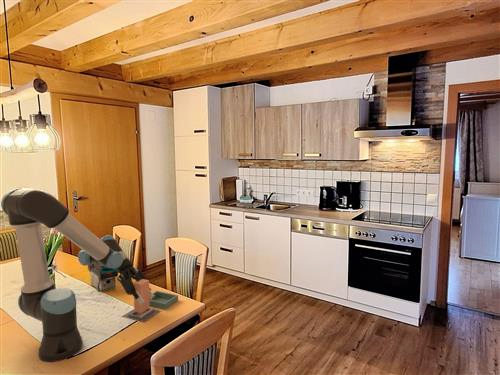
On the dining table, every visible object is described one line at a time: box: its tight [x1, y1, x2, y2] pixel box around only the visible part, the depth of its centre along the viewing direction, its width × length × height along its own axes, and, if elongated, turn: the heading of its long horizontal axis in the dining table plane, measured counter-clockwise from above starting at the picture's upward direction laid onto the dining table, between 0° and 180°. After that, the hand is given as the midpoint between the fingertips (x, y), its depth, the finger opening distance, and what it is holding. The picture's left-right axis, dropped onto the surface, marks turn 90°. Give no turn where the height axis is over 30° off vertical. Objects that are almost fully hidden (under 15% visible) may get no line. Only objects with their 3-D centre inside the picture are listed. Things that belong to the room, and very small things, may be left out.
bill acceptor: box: [87, 263, 119, 292], centre depth 188 cm, size 10×23×25 cm, turn 44°
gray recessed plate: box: [120, 307, 162, 324], centre depth 155 cm, size 12×14×3 cm
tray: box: [149, 290, 179, 311], centre depth 167 cm, size 11×14×4 cm
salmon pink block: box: [133, 279, 150, 313], centre depth 154 cm, size 6×4×14 cm, turn 157°
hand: (147, 300), depth 153 cm, fingers closed on salmon pink block, 6 cm apart
